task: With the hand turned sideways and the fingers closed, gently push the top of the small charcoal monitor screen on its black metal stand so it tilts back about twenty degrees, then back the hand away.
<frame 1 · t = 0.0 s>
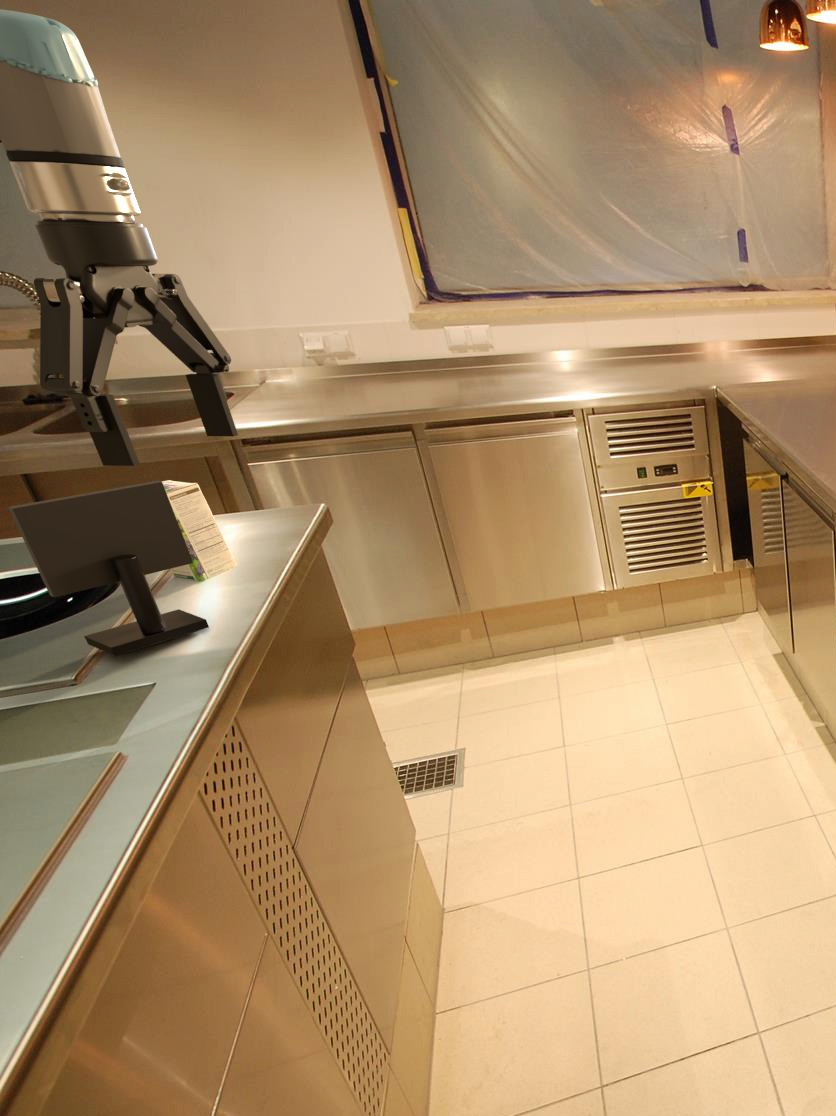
hand: (176, 449, 86), 28 cm above the worktop, tool pointing down, fingers open, 13 cm apart
monitor screen: (107, 537, 104), point 14 cm above the worktop, hinge at 0.0°
syrup box: (210, 577, 128), on the worktop
monitor stand: (150, 635, 109), on the worktop
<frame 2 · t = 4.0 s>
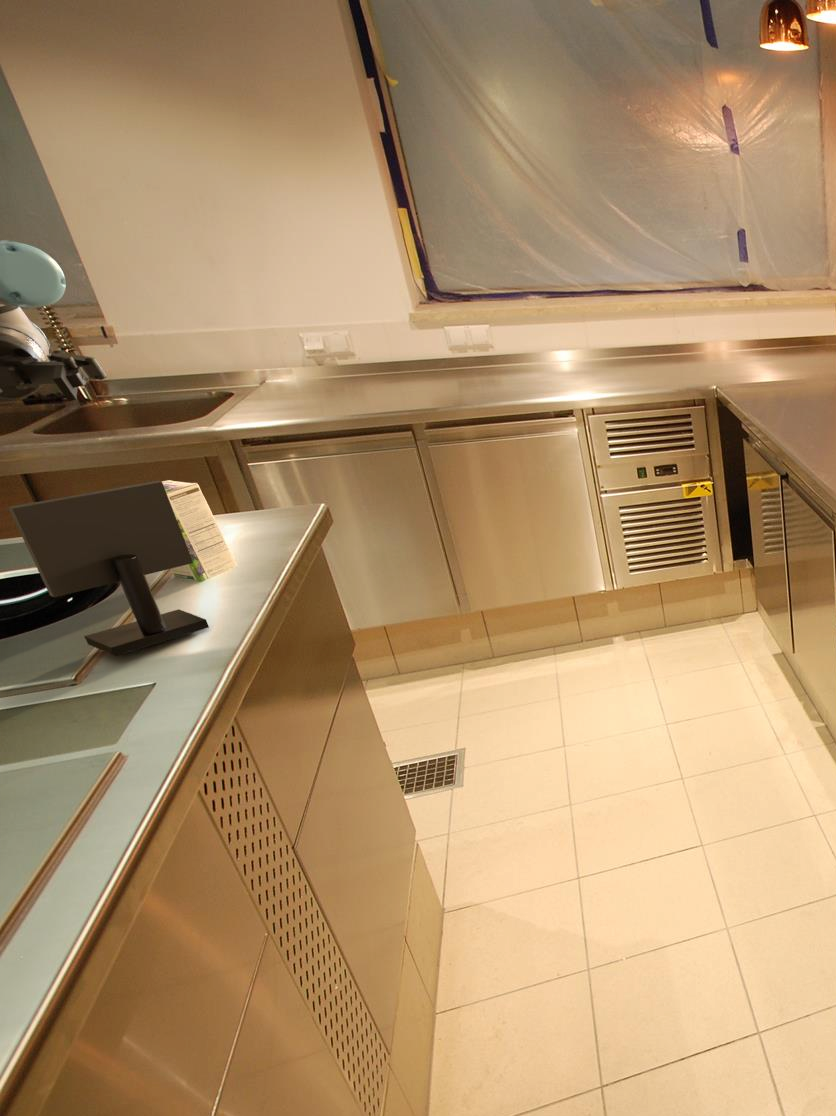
nothing on the worktop moved.
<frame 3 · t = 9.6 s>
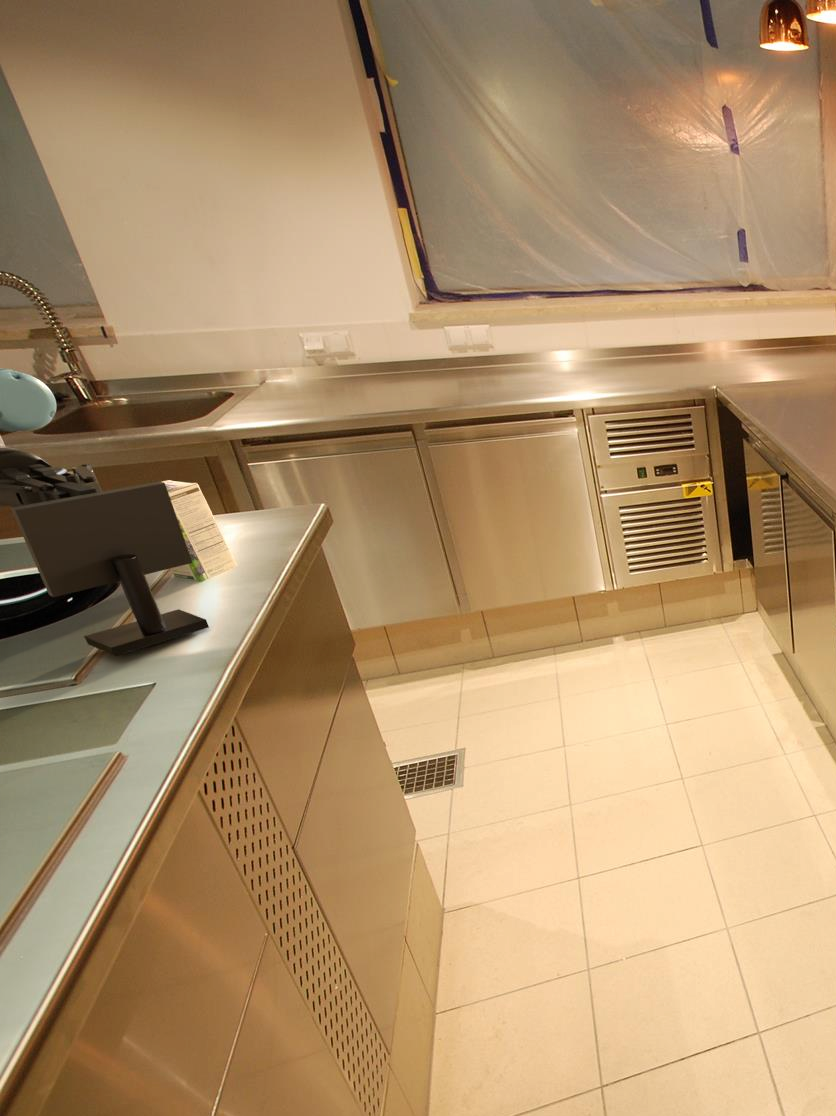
hand: (92, 500, 102), 18 cm above the worktop, tool horizontal, fingers closed
monitor screen: (108, 537, 103), point 13 cm above the worktop, hinge at 4.7°, touching gripper
everything else where it was.
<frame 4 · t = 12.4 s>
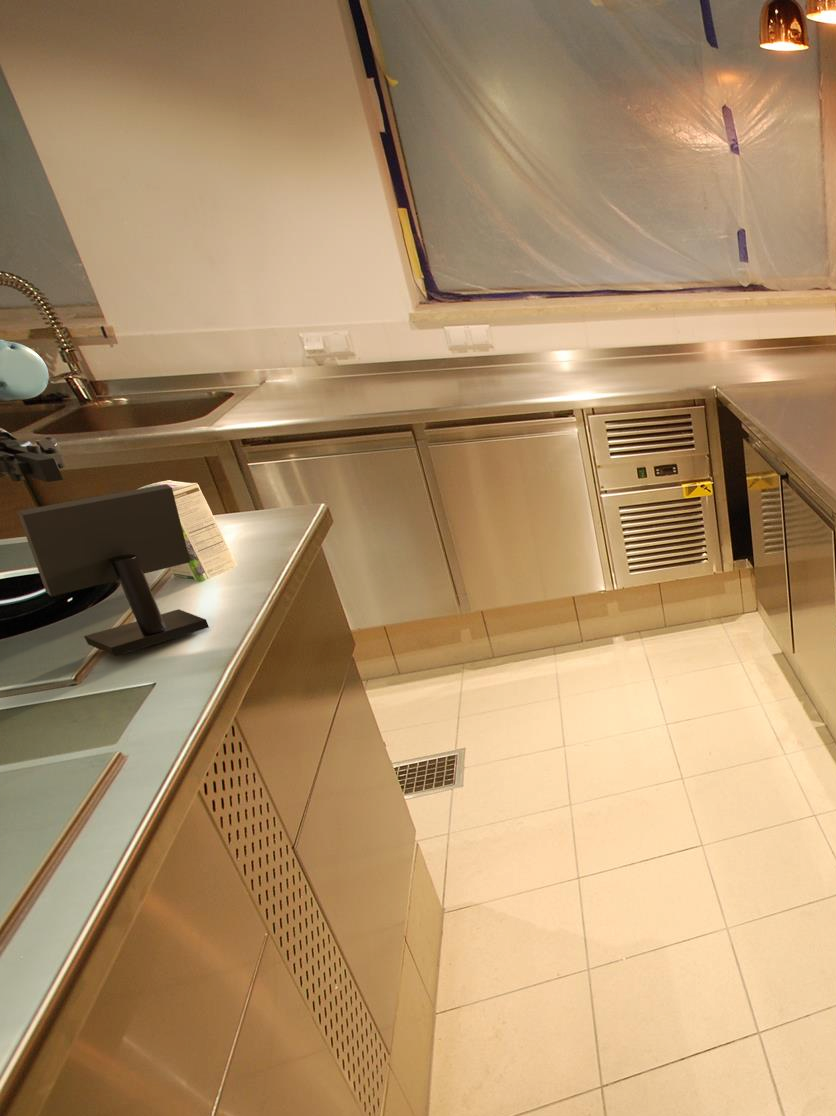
hand: (50, 470, 104), 21 cm above the worktop, tool horizontal, fingers closed
monitor screen: (110, 538, 103), point 13 cm above the worktop, hinge at 15.4°
everything else where it was.
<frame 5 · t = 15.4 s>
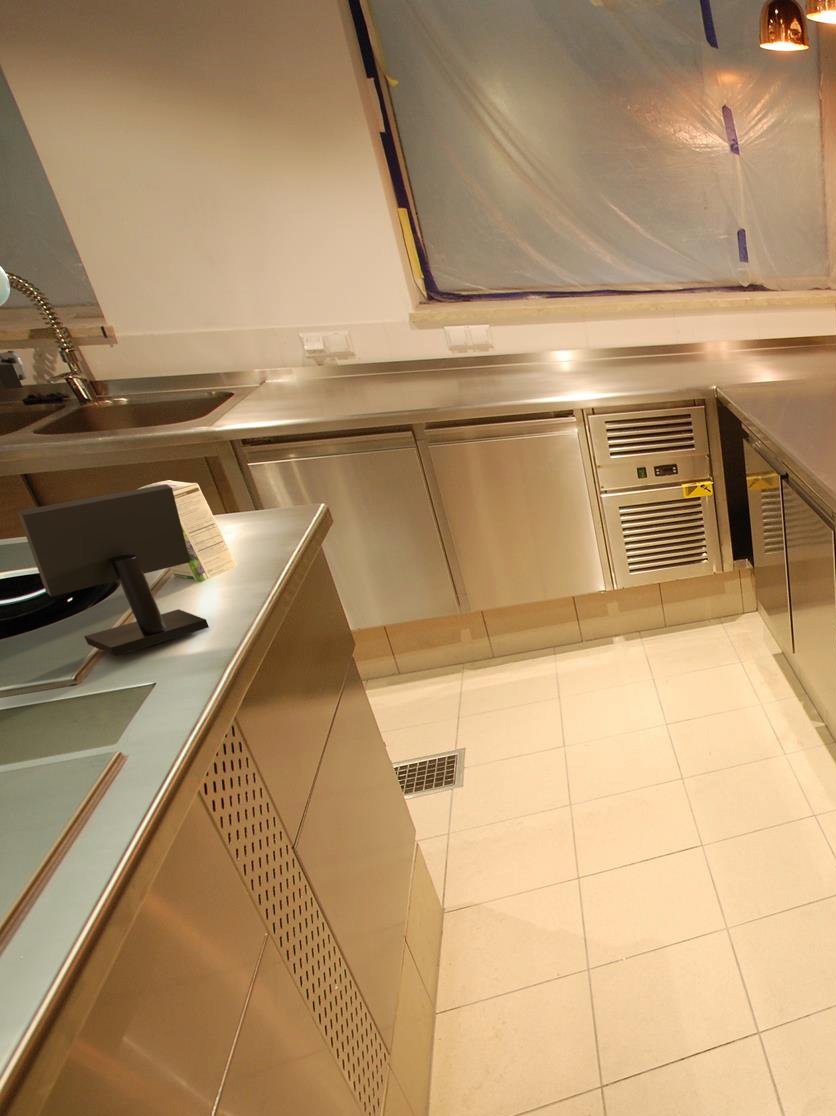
hand: (9, 376, 99), 32 cm above the worktop, tool horizontal, fingers closed
nothing on the worktop moved.
at the end: monitor screen at +15° (first picture: +0°); syrup box moved 0.0 cm from its start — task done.
